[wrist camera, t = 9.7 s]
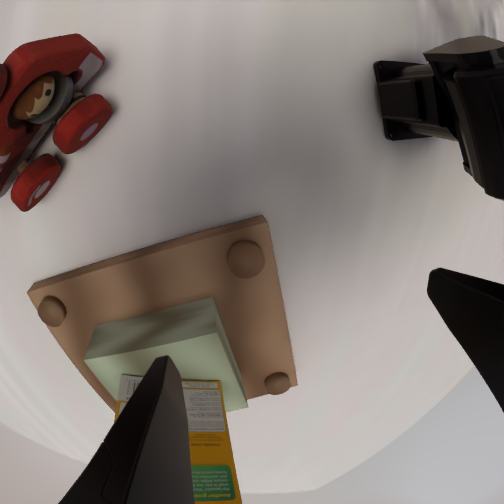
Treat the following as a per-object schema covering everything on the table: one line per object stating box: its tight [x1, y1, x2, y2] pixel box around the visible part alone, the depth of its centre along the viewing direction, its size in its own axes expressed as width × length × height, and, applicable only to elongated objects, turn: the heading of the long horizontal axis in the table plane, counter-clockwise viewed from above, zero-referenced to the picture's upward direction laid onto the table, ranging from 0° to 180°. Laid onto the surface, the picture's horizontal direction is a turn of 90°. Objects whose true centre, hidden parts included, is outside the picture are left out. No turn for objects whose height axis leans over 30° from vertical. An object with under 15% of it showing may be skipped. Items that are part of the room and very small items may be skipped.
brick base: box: [27, 215, 298, 413], centre depth 21 cm, size 20×18×6 cm
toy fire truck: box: [0, 34, 112, 212], centre depth 10 cm, size 7×12×10 cm, turn 128°
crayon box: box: [114, 374, 242, 504], centre depth 14 cm, size 7×3×12 cm, turn 80°
